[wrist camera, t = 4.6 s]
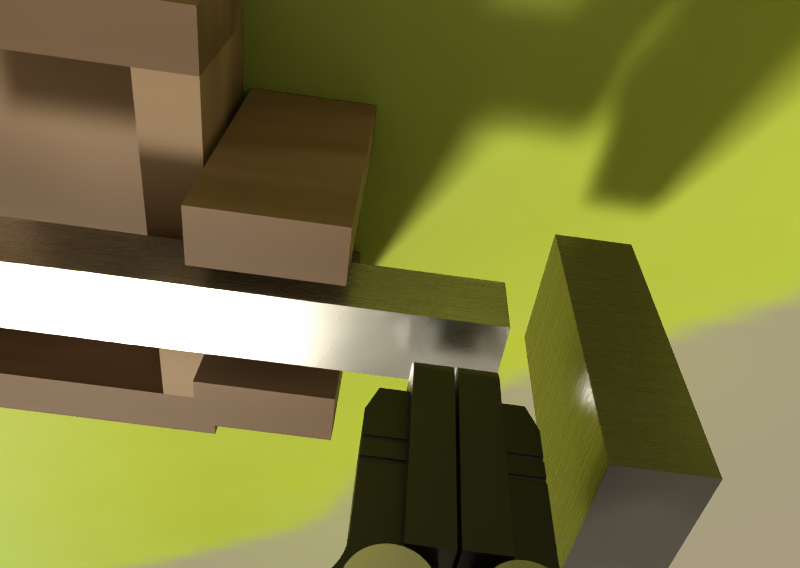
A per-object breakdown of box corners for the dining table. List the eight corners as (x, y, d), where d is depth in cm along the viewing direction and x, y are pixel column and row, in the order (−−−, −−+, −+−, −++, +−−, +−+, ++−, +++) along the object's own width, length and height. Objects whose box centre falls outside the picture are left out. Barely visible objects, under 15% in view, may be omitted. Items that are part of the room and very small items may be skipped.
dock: (-289, -115, 14) (-606, -63, 10) (390, -17, 14) (367, 74, 10) (-124, 302, 20) (-275, 443, 16) (348, 362, 20) (323, 516, 16)
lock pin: (-92, 147, 14) (-369, 342, 9) (631, 244, 15) (722, 479, 10) (-57, 261, 16) (-277, 477, 11) (593, 346, 16) (655, 588, 12)
